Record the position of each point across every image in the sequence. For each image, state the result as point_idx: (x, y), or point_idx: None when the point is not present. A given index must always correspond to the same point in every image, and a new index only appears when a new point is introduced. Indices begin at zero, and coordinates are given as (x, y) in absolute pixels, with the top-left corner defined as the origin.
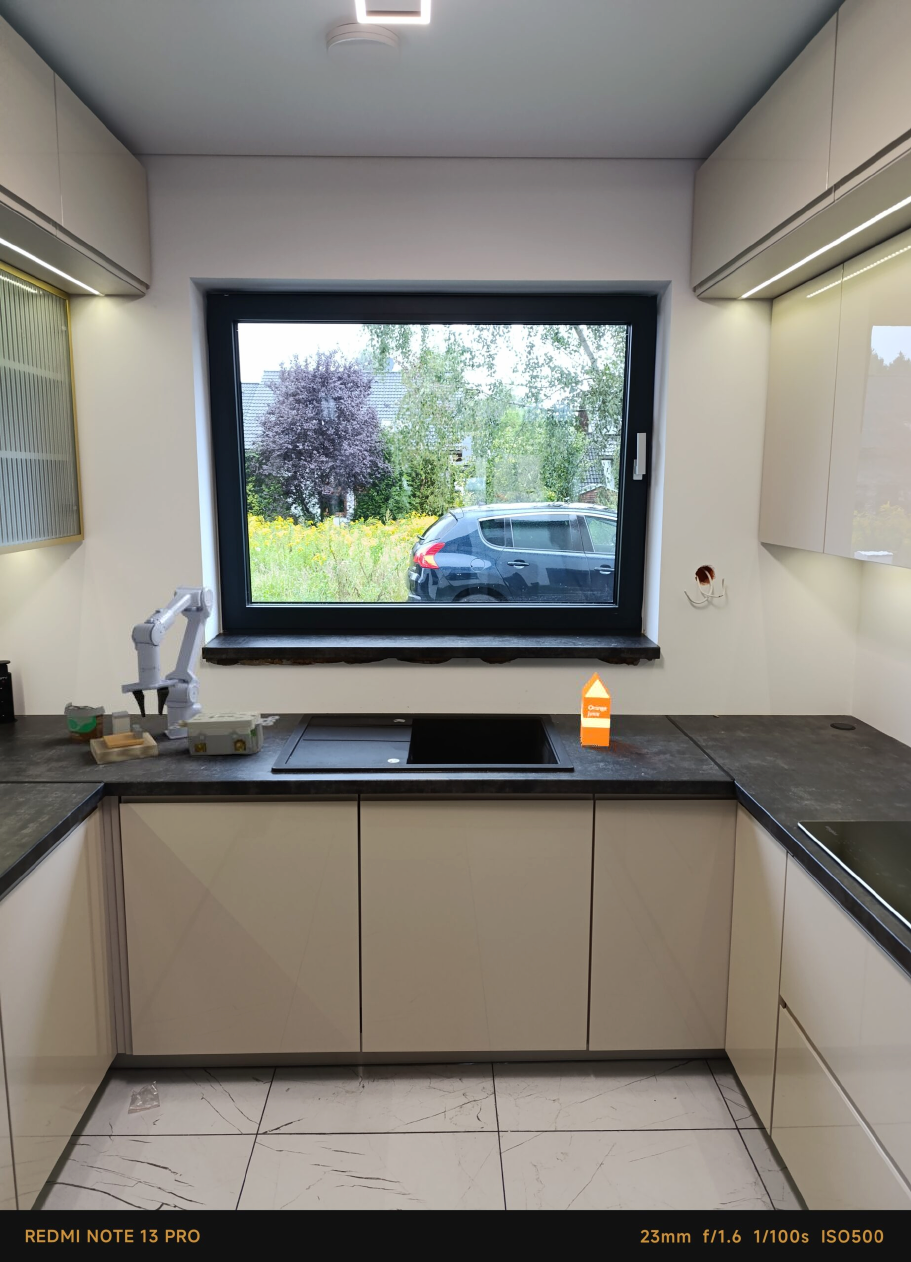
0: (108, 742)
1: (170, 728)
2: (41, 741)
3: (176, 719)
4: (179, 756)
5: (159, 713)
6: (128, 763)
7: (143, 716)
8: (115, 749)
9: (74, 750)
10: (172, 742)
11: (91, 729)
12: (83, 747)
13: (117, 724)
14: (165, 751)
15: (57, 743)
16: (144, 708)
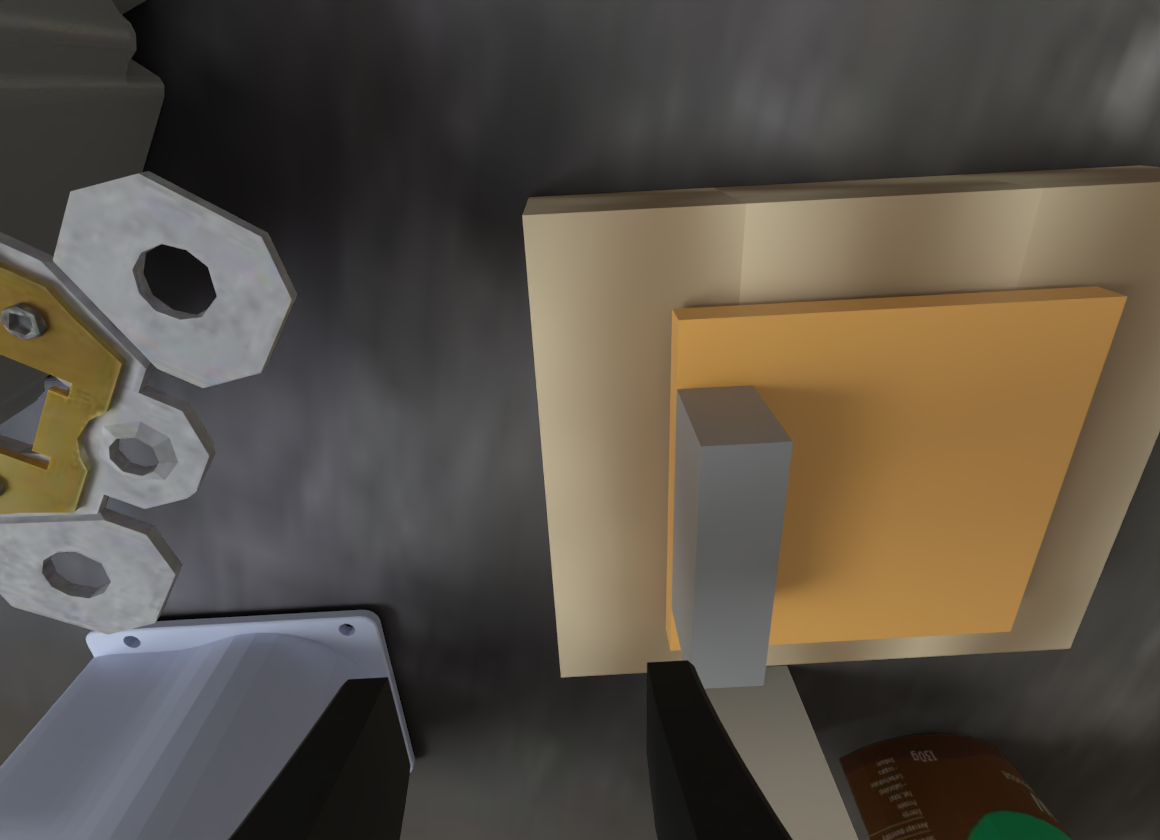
0: (1070, 408)
1: (252, 252)
2: (1156, 833)
3: (248, 784)
4: (294, 31)
5: (385, 725)
6: (878, 33)
7: (684, 675)
8: (1028, 235)
9: (1095, 622)
10: (363, 536)
11: (980, 830)
12: (1013, 660)
13: (824, 817)
14: (441, 302)
15: (1105, 779)
16: (697, 825)
